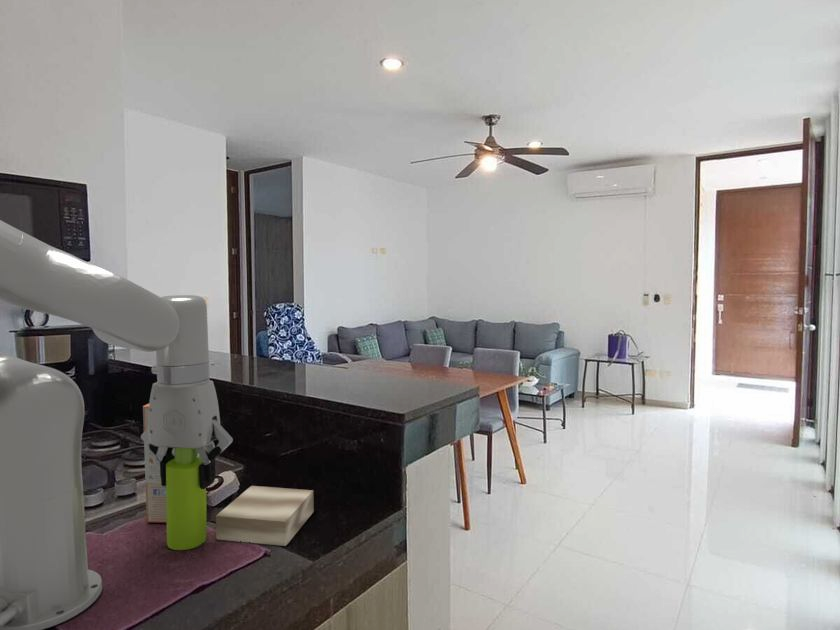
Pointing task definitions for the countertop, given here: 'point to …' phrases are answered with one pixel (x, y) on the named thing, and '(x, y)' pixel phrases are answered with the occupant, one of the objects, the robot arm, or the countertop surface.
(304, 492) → the birch stand
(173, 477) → the soap dispenser
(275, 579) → the countertop surface
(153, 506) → the cracker box
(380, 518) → the countertop surface
